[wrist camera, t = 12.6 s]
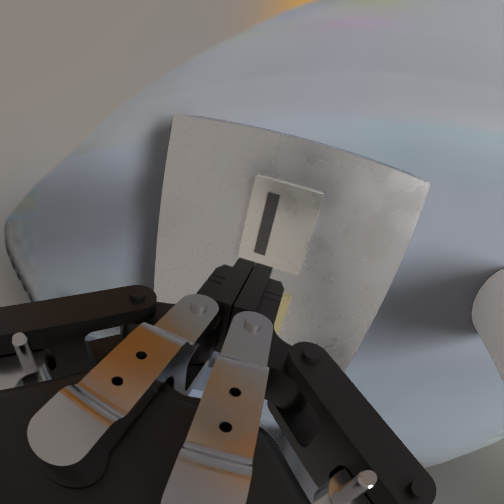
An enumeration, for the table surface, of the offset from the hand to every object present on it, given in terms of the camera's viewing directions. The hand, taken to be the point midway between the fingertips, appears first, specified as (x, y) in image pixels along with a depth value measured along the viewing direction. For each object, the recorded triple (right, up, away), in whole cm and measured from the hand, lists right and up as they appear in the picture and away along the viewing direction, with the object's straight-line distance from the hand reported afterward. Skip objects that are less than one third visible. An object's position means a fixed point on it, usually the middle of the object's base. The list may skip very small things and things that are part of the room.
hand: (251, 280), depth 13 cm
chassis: (+2, 0, +14) cm, 14 cm away
